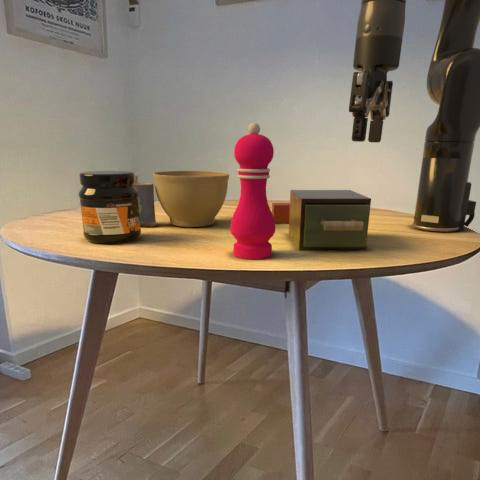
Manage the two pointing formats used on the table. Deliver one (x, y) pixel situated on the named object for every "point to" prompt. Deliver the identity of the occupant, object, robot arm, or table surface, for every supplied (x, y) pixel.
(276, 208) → the block
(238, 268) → the table surface
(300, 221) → the cabinet
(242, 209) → the pepper mill
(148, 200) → the flask
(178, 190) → the planter bowl
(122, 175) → the supplement container
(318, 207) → the drawer
